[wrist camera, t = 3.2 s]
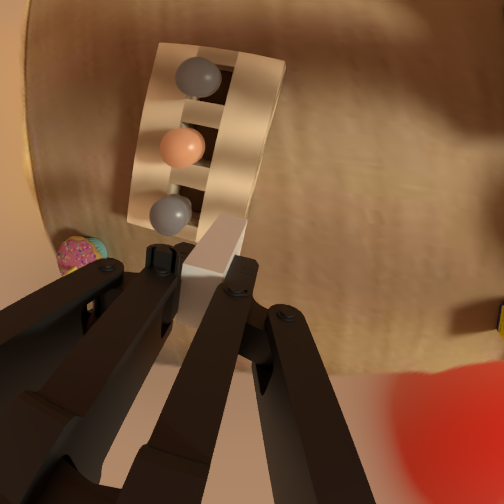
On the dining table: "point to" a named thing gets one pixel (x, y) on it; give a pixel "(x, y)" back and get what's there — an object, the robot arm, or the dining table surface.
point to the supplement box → (501, 320)
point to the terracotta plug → (182, 147)
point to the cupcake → (79, 253)
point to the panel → (211, 115)
